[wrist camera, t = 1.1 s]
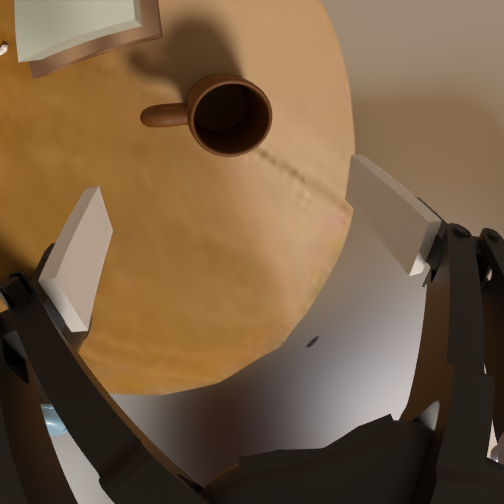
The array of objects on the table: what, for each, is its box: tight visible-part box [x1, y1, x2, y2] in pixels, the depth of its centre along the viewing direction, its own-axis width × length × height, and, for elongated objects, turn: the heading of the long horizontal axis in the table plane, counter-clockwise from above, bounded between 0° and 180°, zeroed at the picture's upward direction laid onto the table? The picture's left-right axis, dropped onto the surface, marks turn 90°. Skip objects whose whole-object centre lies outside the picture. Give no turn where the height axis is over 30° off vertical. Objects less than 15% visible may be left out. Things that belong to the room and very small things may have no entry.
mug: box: [140, 74, 272, 157], centre depth 27 cm, size 12×8×9 cm, turn 85°
